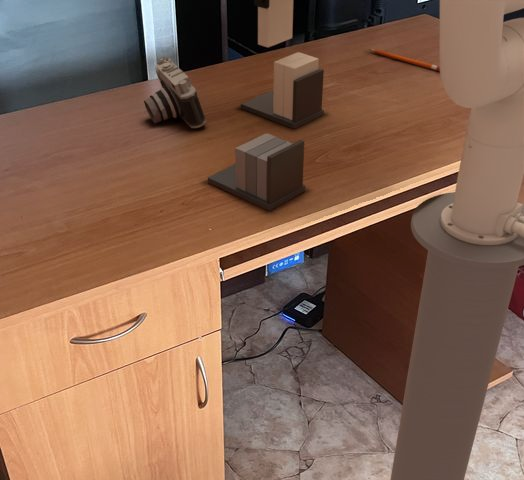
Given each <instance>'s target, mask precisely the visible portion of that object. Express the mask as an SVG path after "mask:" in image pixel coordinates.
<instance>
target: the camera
mask: <svg viewBox="0 0 524 480" xmlns="http://www.w3.org/2000/svg"><path fill="white" fill-rule="evenodd" d="M156 62H157V64H156V65H155V66H154V69H155V73H156V76H157V78H158V80H159V83H160V85H161V86H160V89H159V90H157V91H156V92H154V94H151V95H149V97H148V98H146V99H144V100H143V104H144V106H145V109H146V112H147V113H148V116H149V117H150V119H151V121H152V122H153V123H154V124H155V125H156V124H158V123H160V122H164V121H166V120H171V119H173V118H174V119H178V118H181V119H183V121H184V122H185V123H186V124H187V125H188V126H189V127H190V128H191V129H198V128H201V127H203V126H204V125H205V124H206V123H207V118H206V116H205V113H204V111H203V108H202V105H201V102H200V99H199V96H198V92H197V89H196V88H195V86H193V85H192V83H191V80H190V78H189V76H188V75H187V74H186V73H185V72H184V71H183V70H182V69H181V68H179V66H177V64H176V63H174V61H172V59H171V58H168V57H166V56H163V57H159V58H158V59H157V60H156Z"/></svg>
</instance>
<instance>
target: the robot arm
mask: <svg viewBox="0 0 524 480" xmlns="http://www.w3.org/2000/svg"><path fill="white" fill-rule="evenodd" d="M253 5H254V6H255V7H257V8H258V7H261V8H265V9H267V8H269V0H253ZM522 9H524V0H439V39H438V40H439V41H438V42H439V43H438V45H439V46H438V47H439V50H438V51H439V52H438V53H439V55H438V56H439V67H440V71H439V74H440V81H441V84H442V87H443V90H444V92H445V94H446V95H447V97H448V98H449V99H450V101H452V103H454V104H455V105H457V106H459V107H460V108H461V107H462V108H465V109H470V112H469V116H468V121H467V125H466V130H465V135H464V140H463V145H462V153H461V158H460V162H459V167H458V173H457V178H456V184H455V190H454V192H455V195H454V201H453V203H452V204H450V205H448V206H447V207H445V208H444V209H443V211H442V213H441V218H440V222H441V226H442V227H443V229H444V230H445V231H446V232H447V233H448V234H450V235H451V236H453V237H455V238H457V239H459V240H461V241H464V242H467V243H471V244H477V245H489V246H490V245H500V244H505V243H508V242H510V241H512V240H514V239H515V238H516V237H518V235H520V236H523V237H524V216H523V214H521V210H522V206H523V204H524V203H522V204H520V203H521V202H520V203H518V202H519V201H518V200H519V195H520V191H521V188H522V183H523V178H524V17H518V18H513V19H509V20H505V21H504V17H505V16H504V15H507V14H511V13H513V12H516V11H520V10H522Z"/></svg>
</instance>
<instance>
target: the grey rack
mask: <svg viewBox="0 0 524 480" xmlns="http://www.w3.org/2000/svg"><path fill="white" fill-rule="evenodd" d="M234 150H235V151H234V152H235V156H234V157H235V158H234V159H235V163H234V164H232V165H230V166H228V167H226V168H224V169H222V170H220V171H218V172H216V173H214V174H212V175H209V176H208V177H207V183H208V184H209V185H212V186H215V187H217V188H219V189H221V190H223V191H225V192H227V193H229V194H231V195H234V196H235V197H238V198H241V199H242V200H245V201H247V202H249V203H251V204H253V205H255V206H258V207H260V208H262V209H264V210H266V211H268V212H270V211H273V210H274V209H276V208H277V207H279V206H281V205H283V204H284V203H286V202H288V201H290V200H291V199H294V198H295V197H297V196H299V195H301V194H302V193H304V192H305V191H306V185H305V184H304V164H305V163H304V162H305V161H304V160H305V140H303V139H300V140H299V139H298V140H297V141H295V142H294V143H292V142H291V141H287V140H285V139H282V138H280V137H277V136H275V135H273V134H270V133H268V132H267V133H264V134H262V135H259V136H258V137H255V138H253V139H252V140H249V141H247V142H245V143H243V144H241V145H239V146H236V147H235V149H234Z"/></svg>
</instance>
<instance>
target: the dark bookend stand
mask: <svg viewBox="0 0 524 480" xmlns="http://www.w3.org/2000/svg"><path fill="white" fill-rule="evenodd" d="M319 61H320V58H318V57H315V56H312V55H308V54H305V53H302V52H300V51H298V52H295V53H292V54H290V55H288V56H284V57H282V58H280V59H278V60H274V62H273V91H272V90H270V91H267V92H265V93H263V94H261V95H258V96H256V97H253V98H251V99H249V100H247V101H244V102H242V103H240V109H241V110H243V111H247V112H249V113H251V114H255V115H257V116H259V117H262V118H265V119H267V120H269V121H273V122H275V123H277V124H280V125H282V126H285V127H287V128H289V129H290V128H291V129H293V130H295V129H297V128H299V127H301V126H303V125H305V124H308V123H309V122H311V121H314V120H316V119H318V118H320V117H322V116H324V115H325V109H323V91H324V74H325V73H324V72H325V70H324V69H323V68H319V64H320V63H319Z"/></svg>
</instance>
